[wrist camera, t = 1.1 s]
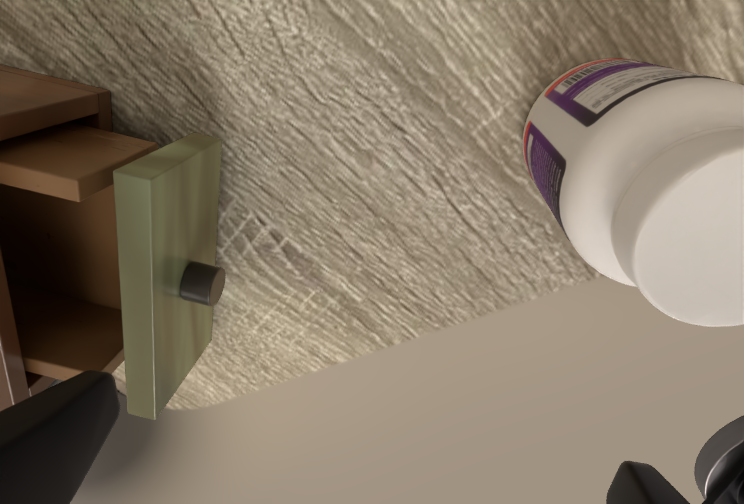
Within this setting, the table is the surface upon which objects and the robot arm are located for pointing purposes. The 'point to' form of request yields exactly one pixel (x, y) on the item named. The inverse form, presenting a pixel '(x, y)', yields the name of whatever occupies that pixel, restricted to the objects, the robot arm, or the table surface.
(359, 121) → the table surface
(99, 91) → the cabinet
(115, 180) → the drawer
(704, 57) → the table surface
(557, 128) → the pill bottle
